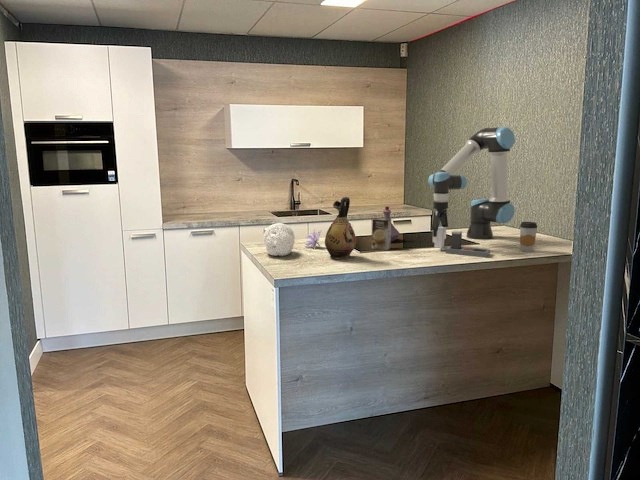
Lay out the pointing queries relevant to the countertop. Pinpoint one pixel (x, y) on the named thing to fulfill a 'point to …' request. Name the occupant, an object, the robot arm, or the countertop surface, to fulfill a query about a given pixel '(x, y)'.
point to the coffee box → (381, 233)
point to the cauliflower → (279, 239)
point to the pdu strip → (467, 251)
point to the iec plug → (440, 238)
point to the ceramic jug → (340, 233)
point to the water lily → (313, 239)
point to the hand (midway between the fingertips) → (439, 240)
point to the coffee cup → (527, 236)
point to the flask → (393, 230)
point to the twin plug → (456, 240)
